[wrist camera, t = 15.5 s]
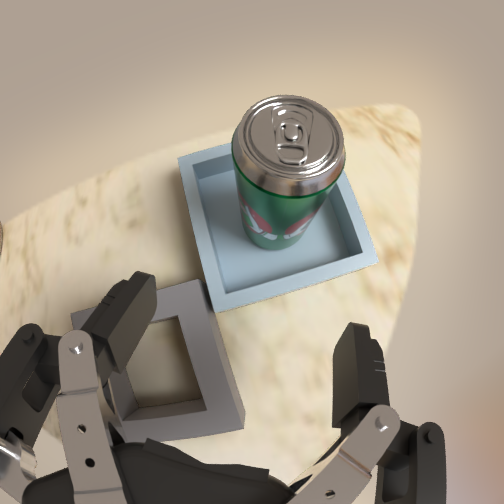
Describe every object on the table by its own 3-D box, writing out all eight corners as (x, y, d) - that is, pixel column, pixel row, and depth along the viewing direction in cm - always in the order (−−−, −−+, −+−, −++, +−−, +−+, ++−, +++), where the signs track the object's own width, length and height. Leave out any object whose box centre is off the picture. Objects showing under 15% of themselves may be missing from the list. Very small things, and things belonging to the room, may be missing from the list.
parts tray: (221, 312, 22) (214, 313, 18) (187, 177, 24) (177, 158, 21) (362, 269, 22) (379, 261, 19) (314, 145, 25) (321, 123, 21)
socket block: (127, 429, 20) (111, 443, 16) (92, 314, 22) (70, 313, 18) (245, 411, 20) (243, 428, 17) (206, 283, 22) (198, 278, 19)
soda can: (306, 193, 23) (346, 96, 11) (304, 253, 22) (357, 194, 10) (244, 188, 23) (235, 85, 11) (239, 249, 22) (221, 183, 10)
